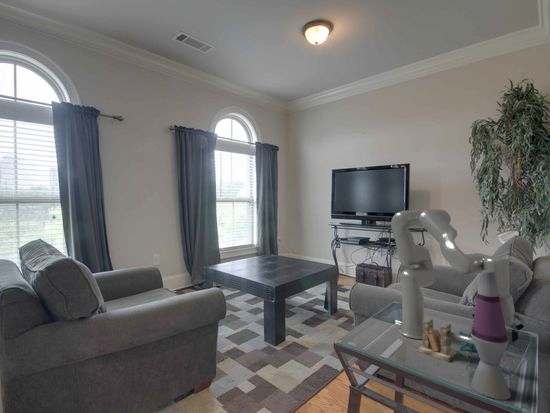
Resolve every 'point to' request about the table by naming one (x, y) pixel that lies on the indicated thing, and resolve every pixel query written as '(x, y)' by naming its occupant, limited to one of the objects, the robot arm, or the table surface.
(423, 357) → the table surface
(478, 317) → the lamp
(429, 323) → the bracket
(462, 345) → the gear
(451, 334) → the shaft
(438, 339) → the spacer
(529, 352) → the table surface
